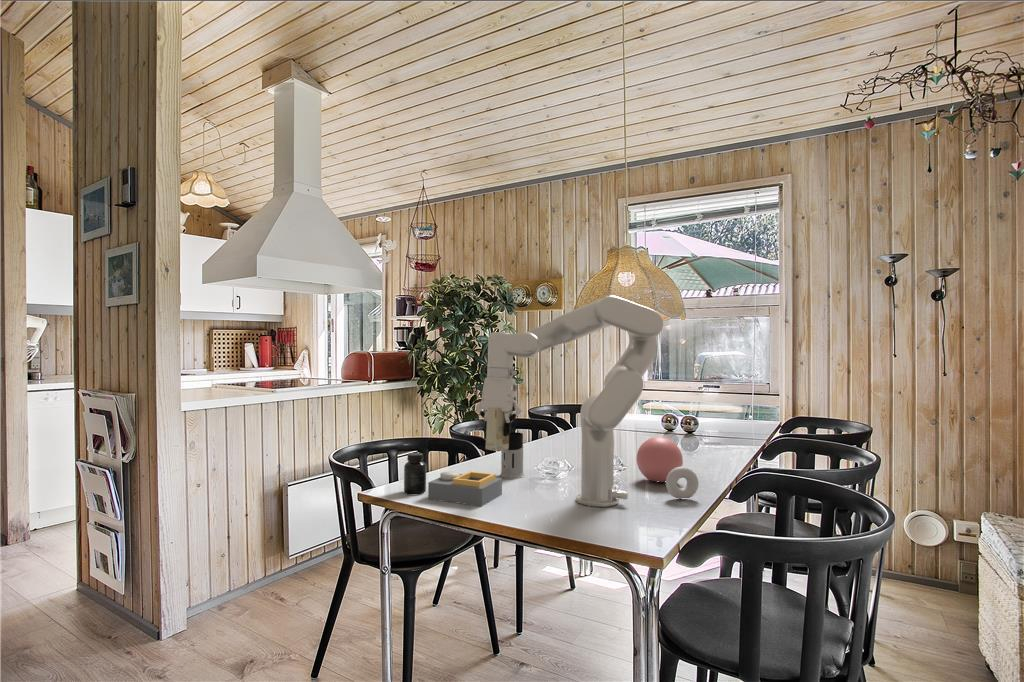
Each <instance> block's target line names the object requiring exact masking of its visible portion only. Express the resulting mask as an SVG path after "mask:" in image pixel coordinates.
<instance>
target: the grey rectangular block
mask: <svg viewBox="0 0 1024 682" xmlns="http://www.w3.org/2000/svg"><path fill="white" fill-rule="evenodd" d="M496 476H497V475H496V473H489V472H478V471H472V470H471V471H468V472H465V473H460V472H459V471H443V472H440V477H438V478H435V479H433V480H431V481H428V483H427V484H428V488H427V489H428V492H427V493H428V494H427V496H428V497H427V499H428V498H429V499H428V500H432V499H435V500H434V501H439V500H442V501H441V502H447V501H451V502H450V503H454V502H459V503H458V504H461V503H465V504H464V505H469V504H472V505H471V506H476V505H478V506H477V507H483V506H484V505H487V504H488V503H490V502H492V501H493V500H496V499H497V498H499V497H500V496H502V495H503V477H496ZM486 503H487V504H486Z"/></svg>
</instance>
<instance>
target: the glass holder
mask: <svg viewBox="0 0 1024 682" xmlns="http://www.w3.org/2000/svg"><path fill="white" fill-rule="evenodd" d="M500 453H501V462H500V463H501V467H500V469H501V471H500V475H499V476H502V477H501V478H503V477H506V478H505V479H509V478H516V479H519V478H518V477H522V476H524V477H525V474H524V434H523V433H522V432H514V431H513V432H512V431H511V433H510V435H509V449H505V450H500ZM522 478H523V477H522Z"/></svg>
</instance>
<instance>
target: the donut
mask: <svg viewBox="0 0 1024 682" xmlns="http://www.w3.org/2000/svg"><path fill="white" fill-rule="evenodd" d="M680 479H685V481H686V485H685V487H682V488H681V487H679V486H678V482H679V480H680ZM665 487H666V489H667V492H668V494H669V495H670V496H671V497H673V498H674V497H675V498H674V499H676V498H689V499H691V498H692V497H693V496H695V494H696V493H697V491H698V488H699V478H698V476H697V474H696V473H695V472H694V471H693V470H692V469H691V468H689V467H686V466H682V467H676V468H674V469H672V470H671V471H670V472H669V474H668V476H667V478H666V482H665ZM690 497H691V498H690Z"/></svg>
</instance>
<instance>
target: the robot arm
mask: <svg viewBox="0 0 1024 682" xmlns="http://www.w3.org/2000/svg"><path fill="white" fill-rule="evenodd" d="M610 326H613V327H615V328H617V329H620V330H622V331H625V332H627V334H628V345H627V347H626V349H625V350H624V352H623V353H622V355H621V356H620V357H619V359H618V360H617V361H616V363H615V364H614V365H613V367H612V368H611V369H610V370H609V371H608V372H607V374H606V375H605V378H604V379H603V380H604V381H603V386H604V388H603V389H602V390H601V392H600V393H599V394H595V395H591V396H589V397H587V398H586V399H584V401H583V403H582V404H581V406H580V428H581V461H580V462H581V467H580V468H581V470H580V471H581V473H580V474H581V475H580V476H581V480H580V481H581V483H580V485H581V486H580V489H581V492H580V493H578V494H577V495H576V496H575V501H576V502H577V503H579V504H581V505H583V506H584V505H585V506H589V507H599V508H601V507H602V508H605V507H606V508H608V507H613V506H615V505H618V504H619V503H620V502H619V499H621V500H628V499H629V493H628V492H626V491H624V490H618V489H617V485H614V479H615V478H614V472H615V469H614V462H615V461H614V460H615V459H614V457H615V456H614V455H615V454H614V451H615V441H614V440H615V439H614V437H615V436H614V429H615V428H617V427H618V425H620V423H621V422H622V421H623V419H624V418H625V417H626V415H627V414H628V413H629V412H630V410H631V409H632V408H633V406H634V405H635V403H636V402H637V401H638V400H639V398H640V396H641V395H642V392H643V389H644V379H643V376H644V375H645V374H646V372H647V371H648V369H649V367H650V366H651V364H652V363H653V361H654V359H655V357H656V355H657V347H658V346H657V337H658V336H659V335H661V332H662V330H663V328H664V320H663V317H662V315H661V314H660V313H659V312H658V311H656V310H654V309H652V308H650V307H647V306H644V305H641V304H638V303H636V302H634V301H630V300H628V299H625V298H622V297H619V296H617V295H606V296H604V297H602V298H600V299H597V300H595V301H593V302H590V303H587V304H585V305H583V306H580V307H578V308H576V309H573V310H570V311H568V312H565V313H562V314H561V315H560V316H557V317H555V318H554V319H552V320H550V321H548V322H547V323H544V324H542V325H540V326H538V327H535V328H533V329H530V330H528V331H525V332H518V333H516V332H515V333H510V332H500V331H498V332H497V331H495V332H490V333H489V335H488V340H487V341H488V346H487V367H486V368H487V369H486V370H487V373H486V374H487V375H486V377H485V378H484V380H483V381H484V382H483V386H482V391H481V400H480V401H479V403H477V405H476V406H475V410H476V411H477V413H479V414H480V416H481V417H482V419H483V421H484V432H486V429H487V408H492V409H500V410H501V411H502V412H504V415H505V419H506V423H504V436H509V435H510V433H511V432H512V422H513V421H514V420H515V419H516V418H517V417H519V416H520V415H521V414H522V413H523V409H522V408H521V406H520V405H519V404H518V392H517V382H516V379H515V378H514V376H516V375H517V373H518V371H517V370H514V365H513V364H514V357H518V358H519V357H520V358H526V359H529V358H532V357H535V355H537V354H538V353H540V352H543V351H546V350H548V349H550V348H553V347H555V346H558V345H561V344H566V343H567V344H568V343H570V342H571V343H572V342H573V341H576V340H579V339H581V338H584V337H586V336H588V335H590V334H593V333H595V332H598V331H600V330H602V329H605V328H607V327H610ZM512 412H514V413H512Z"/></svg>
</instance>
